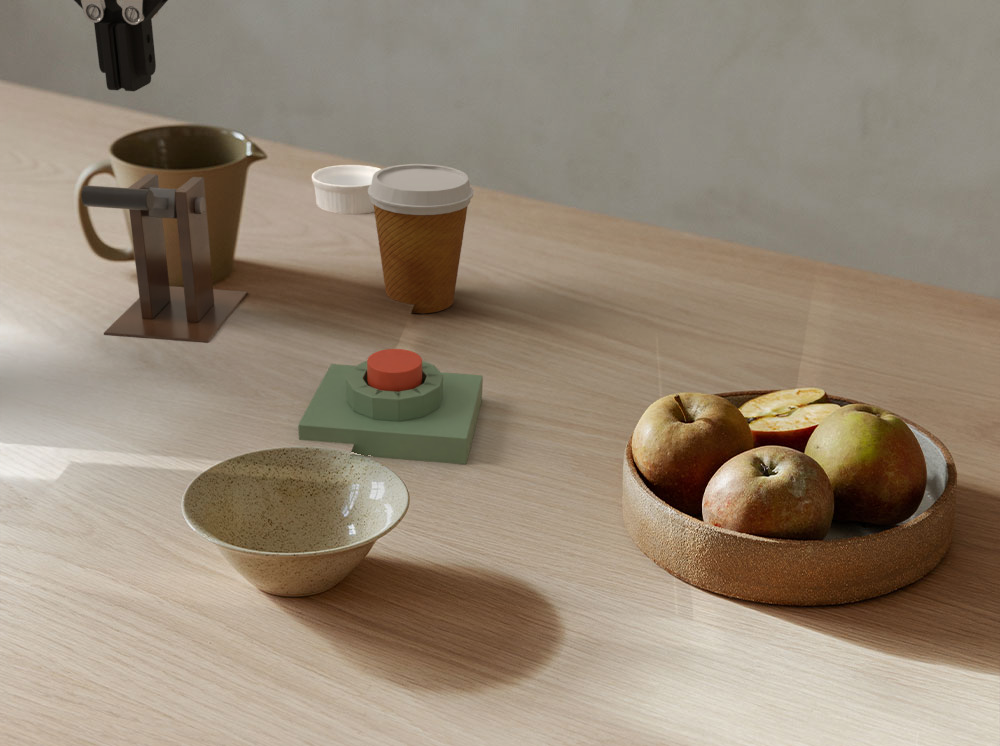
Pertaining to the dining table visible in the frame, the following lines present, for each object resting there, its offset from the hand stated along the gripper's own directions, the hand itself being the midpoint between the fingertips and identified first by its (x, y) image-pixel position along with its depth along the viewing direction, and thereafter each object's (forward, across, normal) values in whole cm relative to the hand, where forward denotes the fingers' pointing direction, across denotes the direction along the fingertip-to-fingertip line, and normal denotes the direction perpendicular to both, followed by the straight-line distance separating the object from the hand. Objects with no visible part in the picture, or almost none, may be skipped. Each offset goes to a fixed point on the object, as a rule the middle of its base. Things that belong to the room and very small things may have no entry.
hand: (129, 85), depth 69 cm
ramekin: (+25, +2, +53) cm, 59 cm away
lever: (+14, -6, +14) cm, 21 cm away
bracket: (+25, -6, +19) cm, 32 cm away
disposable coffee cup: (+25, +14, +28) cm, 40 cm away
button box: (+25, +16, +4) cm, 30 cm away
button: (+21, +16, +4) cm, 27 cm away
